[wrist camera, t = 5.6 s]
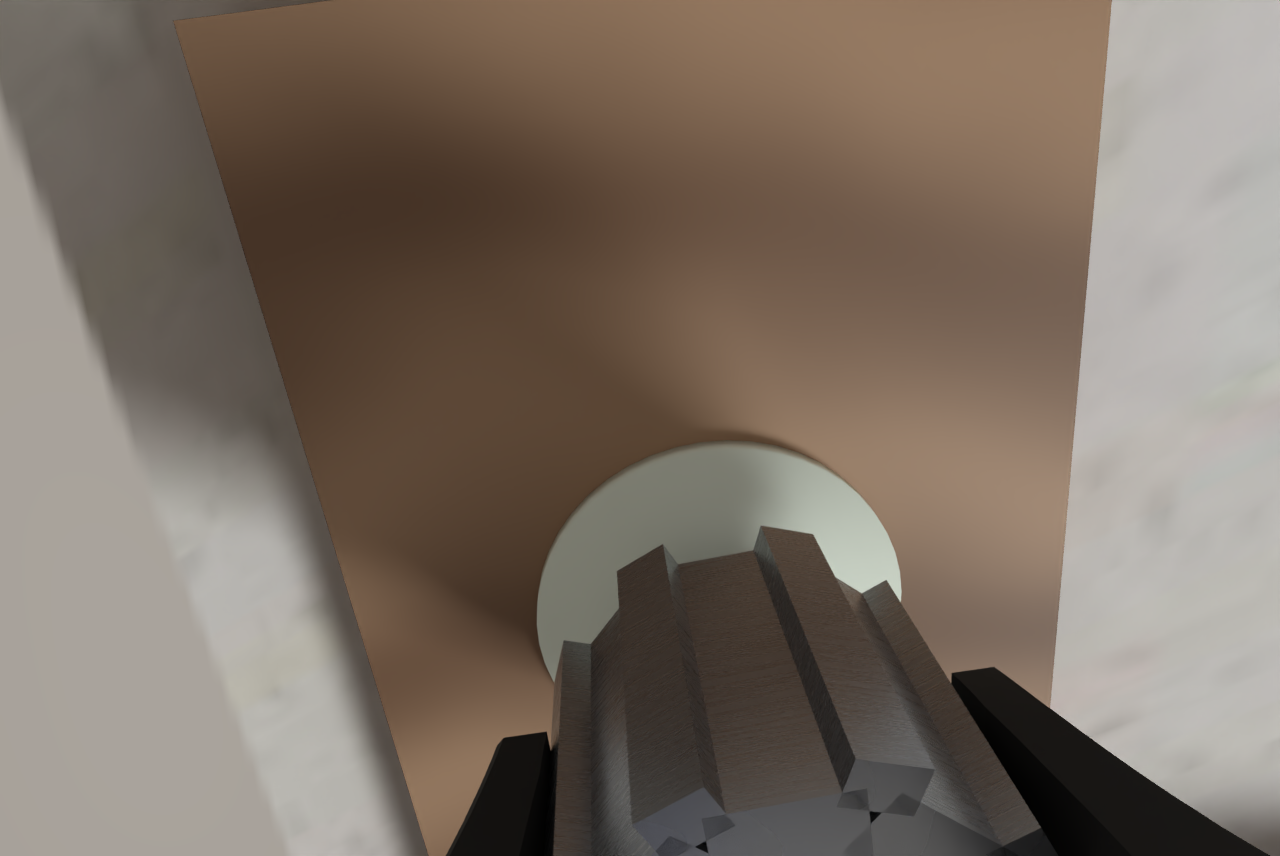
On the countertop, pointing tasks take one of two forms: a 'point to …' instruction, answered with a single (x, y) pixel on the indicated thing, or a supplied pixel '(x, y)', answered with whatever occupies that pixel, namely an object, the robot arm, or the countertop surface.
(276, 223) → the gear board
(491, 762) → the robot arm
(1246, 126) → the countertop surface
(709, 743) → the grey gear
